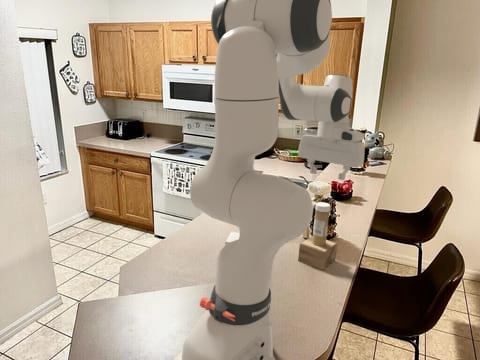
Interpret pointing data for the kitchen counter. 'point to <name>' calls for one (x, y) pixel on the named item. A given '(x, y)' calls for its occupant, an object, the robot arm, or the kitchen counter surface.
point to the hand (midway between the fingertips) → (326, 176)
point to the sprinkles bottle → (321, 223)
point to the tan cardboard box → (317, 253)
